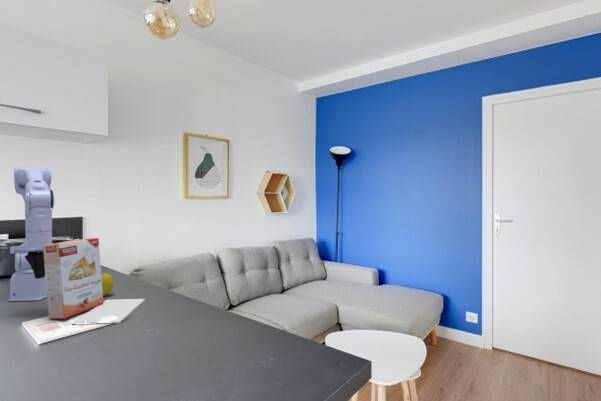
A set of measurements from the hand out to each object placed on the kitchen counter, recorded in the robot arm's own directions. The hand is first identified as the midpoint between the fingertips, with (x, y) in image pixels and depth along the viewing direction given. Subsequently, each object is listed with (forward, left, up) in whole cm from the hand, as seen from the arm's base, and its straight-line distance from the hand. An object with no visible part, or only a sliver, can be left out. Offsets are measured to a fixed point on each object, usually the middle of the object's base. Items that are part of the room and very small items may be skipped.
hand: (40, 277), depth 98 cm
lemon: (+11, +16, -11) cm, 22 cm away
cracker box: (+10, 0, -10) cm, 15 cm away
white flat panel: (+20, 0, -10) cm, 23 cm away
